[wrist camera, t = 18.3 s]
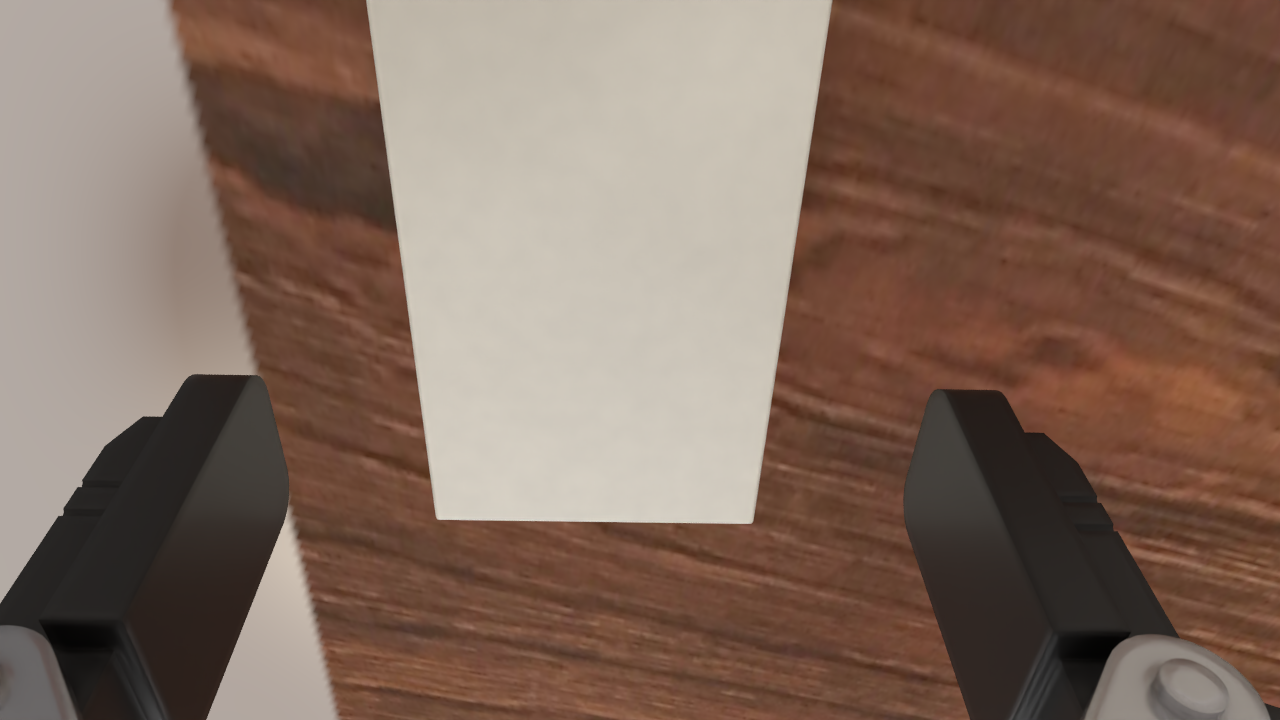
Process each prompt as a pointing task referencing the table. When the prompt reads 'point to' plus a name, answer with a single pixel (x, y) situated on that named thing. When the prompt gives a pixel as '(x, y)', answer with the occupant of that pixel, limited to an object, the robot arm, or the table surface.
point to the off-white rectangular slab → (597, 244)
